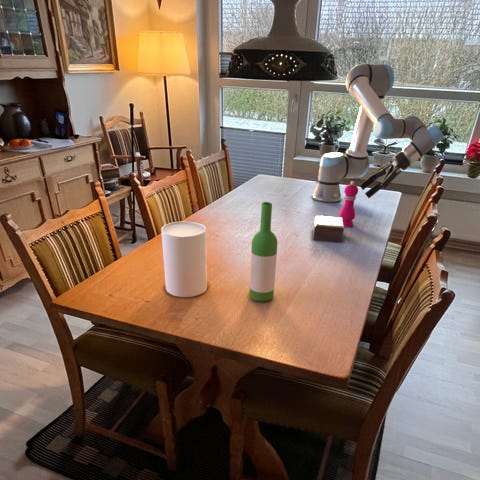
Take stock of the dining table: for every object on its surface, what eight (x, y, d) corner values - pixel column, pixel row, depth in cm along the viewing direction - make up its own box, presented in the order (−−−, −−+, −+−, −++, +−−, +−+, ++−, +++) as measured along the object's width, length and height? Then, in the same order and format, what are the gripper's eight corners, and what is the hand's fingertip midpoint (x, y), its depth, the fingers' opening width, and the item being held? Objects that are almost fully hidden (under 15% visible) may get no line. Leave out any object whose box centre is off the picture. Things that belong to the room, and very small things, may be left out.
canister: (212, 281, 140) (212, 224, 129) (198, 299, 129) (196, 239, 118) (175, 275, 143) (172, 219, 132) (158, 293, 132) (153, 233, 121)
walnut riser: (313, 230, 185) (315, 215, 181) (340, 232, 184) (343, 217, 180) (313, 240, 175) (315, 224, 171) (341, 242, 174) (344, 226, 170)
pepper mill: (334, 223, 194) (341, 179, 184) (347, 221, 196) (355, 178, 186) (343, 228, 189) (350, 183, 178) (356, 226, 191) (364, 182, 180)
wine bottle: (244, 296, 132) (247, 202, 116) (260, 288, 136) (266, 197, 120) (261, 305, 127) (267, 209, 111) (278, 297, 132) (286, 203, 116)
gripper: (419, 170, 166) (374, 206, 175) (403, 158, 187) (363, 190, 196) (409, 156, 163) (364, 192, 172) (393, 145, 184) (354, 178, 193)
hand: (363, 191), depth 184 cm, fingers open, 13 cm apart
